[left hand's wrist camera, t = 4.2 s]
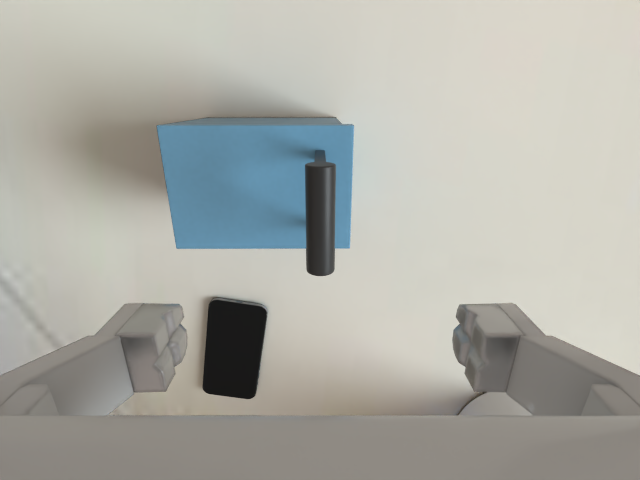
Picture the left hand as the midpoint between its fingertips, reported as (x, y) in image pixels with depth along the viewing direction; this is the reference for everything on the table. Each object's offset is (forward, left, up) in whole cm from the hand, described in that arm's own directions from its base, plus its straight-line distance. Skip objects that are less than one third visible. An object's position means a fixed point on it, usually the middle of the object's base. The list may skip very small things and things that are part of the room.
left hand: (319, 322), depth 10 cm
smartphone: (-22, +15, -29) cm, 39 cm away
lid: (+1, +4, -18) cm, 18 cm away
